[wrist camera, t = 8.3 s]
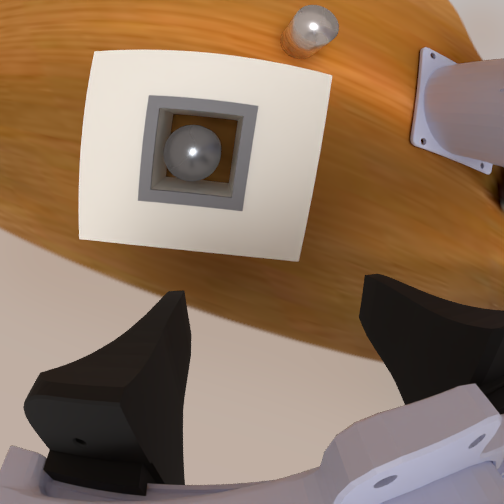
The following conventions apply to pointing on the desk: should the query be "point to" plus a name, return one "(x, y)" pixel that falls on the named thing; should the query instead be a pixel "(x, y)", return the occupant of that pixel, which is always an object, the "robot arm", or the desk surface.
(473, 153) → the robot arm
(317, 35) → the short pin
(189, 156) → the long pin
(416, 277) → the desk surface
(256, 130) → the pin block
